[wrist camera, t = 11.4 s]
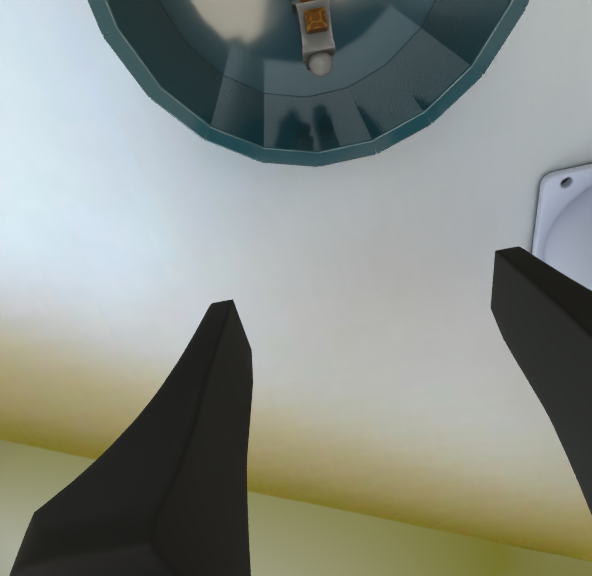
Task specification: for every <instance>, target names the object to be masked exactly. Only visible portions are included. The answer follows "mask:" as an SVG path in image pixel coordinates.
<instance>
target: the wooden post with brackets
mask: <svg viewBox="0 0 592 576" xmlns="http://www.w3.org/2000/svg"><path fill="white" fill-rule="evenodd" d="M329 3H330V0H294V1H292V9H293V14H297V17H298V20H299V24H300V30H301V38H302V45H303V50H302V53H303V61H305V65H306V67H307V70H311V72H312V73H313V74H314V75H316V76H319V77H323V76H326V75H327V74H328V73H329V72H330V71H331V69H332V67H333V59H332V56H334V54H335V43H334V40H333V34H332V26H331V18H330V10H329Z"/></svg>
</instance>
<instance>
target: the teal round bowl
mask: <svg viewBox="0 0 592 576" xmlns="http://www.w3.org/2000/svg"><path fill="white" fill-rule="evenodd" d="M292 1H294V0H88V2H89V5H90V7H91V10H92V12H93V14H94V17H95V19H96V22H97V24H98V26H99V29H100V31H101V33H102V35H104V36H103V37H104V39H105V40H106V41H107V43H108V44H109V45H110V47H111V48H112V49H113V51H114V52H115V53H116V54H117V56H118V57H119V58H120V60H121V61H122V62H123V64H124V65H125V66H126V68H127V69H128V70H129V72H130V73H131V74H132V76H133V77H134V78H135V80H136V81H137V82H138V84H139V85H140V86H141V88H142V89H143V90H144V92H145V93H146V94H147V95H148V97H151V100H153V101H154V102H155V103H157V104H158V105H159V106H160V107H162V108H163V109H164V110H166V111H167V112H168V113H170V114H171V115H172V116H173V117H175V118H176V119H177V120H179V121H180V122H181V123H182V124H184V125H185V126H186V127H188V128H189V129H190V130H191V131H193V132H194V133H195V134H197V135H198V136H199V137H201V138H202V139H204V140H206V141H208V142H211V143H213V144H216V145H218V146H221V147H223V148H226V149H228V150H231V151H233V152H236V153H239V154H241V155H244V156H246V157H249V158H251V159H254V160H256V161H261V162H263V163H276V164H288V165H301V166H313V167H318V166H325V165H329V164H334V163H338V162H343V161H348V160H352V159H357V158H361V157H366V156H370V155H375V154H376V153H380V152H381V151H383V150H385V149H387V148H389V147H391V146H392V145H394V144H396V143H398V142H400V141H402V140H403V139H405V138H407V137H409V136H411V135H413V134H414V133H416V132H418V131H420V130H422V129H424V128H426V127H427V126H429V125H431V123H433V122H434V121H435V120H437V119H438V118H439V117H440V116H441V115H442V114H443V113H444V112H445V111H446V110H447V109H448V108H449V107H450V106H451V105H452V104H453V103H454V102H456V101H457V100H458V99H459V98H460V97H461V96H462V95H463V94H464V93H465V92H466V91H467V90H468V89H469V88H470V87H471V86H472V85H473V84H475V83H476V82H477V81H478V80H479V79H480V78H481V77H482V74H484V73H485V72H486V70H487V68H488V67H489V65H490V64H491V62H492V61H493V59H494V58H495V56H496V54H497V53H498V51H499V50H500V48H501V47H502V45H503V44H504V42H505V40H506V39H507V37H508V36H509V34H510V33H511V31H512V29H513V28H514V26H515V25H516V23H517V22H518V20H519V19H520V17H521V15H522V14H523V12H524V11H525V7H526V6H527V5H528V2H529V0H330V3H329V10H330V18H331V26H332V34H333V40H334V43H335V54H334V56H332V59H333V67H332V69H331V71H330V72H329V73H328V74H327V75H326V76H323V77H319V76H316V75H314V74H313V73H312V72H311V70H307V67H306V65H305V61H303V53H302V50H303V45H302V38H301V30H300V24H299V20H298V17H297V14H293V9H292Z"/></svg>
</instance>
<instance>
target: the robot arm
mask: <svg viewBox="0 0 592 576" xmlns="http://www.w3.org/2000/svg"><path fill="white" fill-rule="evenodd" d="M567 177H568V179H567V181H566V182H565V183H563V184H561V182H562V180H563V179H565V178H567ZM491 310H492V312H493V315H494V317H495V320H496V322H497V325H498V327H499V329H500V332H501V334H502V336H503V339H504V341H505V342H506V344H507V346H508V348H509V349H510V351H511V353H512V354H513V356H514V358H515V360H516V361H517V363H518V365H519V366H520V368H521V370H522V371H523V373H524V375H525V376H526V378H527V380H528V381H529V383H530V385H531V386H532V388H533V390H534V392H535V393H536V395H537V397H538V398H539V400H540V402H541V403H542V405H543V407H544V409H545V410H546V412H547V414H548V416H549V418H550V420H551V422H552V424H553V426H554V428H555V430H556V433H557V435H558V437H559V439H560V441H561V443H562V446H563V448H564V450H565V452H566V454H567V457H568V459H569V461H570V464H571V466H572V468H573V471H574V473H575V475H576V478H577V480H578V482H579V485H580V487H581V489H582V492H583V494H584V497H585V499H586V502H587V504H588V507H589V509H590V512H591V514H592V164H588V165H583V166H578V167H573V168H568V169H564V170H559V171H554V172H551V173H548V174H547V175H546V176H545V177H544V178H543V179H542V181H541V185H540V193H539V201H538V209H537V217H536V225H535V233H534V241H533V249H532V254H531V253H529V252H527V251H526V250H524V249H522V248H521V247H513V248H508V249H502V250H497V251H495V261H494V274H493V286H492V299H491ZM252 388H253V371H252V352H251V348H250V345H249V342H248V339H247V337H246V334H245V331H244V329H243V326H242V323H241V320H240V318H239V315H238V312H237V310H236V307H235V304H234V301H233V300H227V301H222V302H217V303H212V304H211V305H210V307H209V308H208V310H207V312H206V314H205V316H204V317H203V319H202V321H201V323H200V325H199V327H198V328H197V330H196V332H195V334H194V336H193V337H192V339H191V341H190V343H189V344H188V346H187V348H186V349H185V351H184V353H183V354H182V356H181V358H180V359H179V361H178V362H177V364H176V366H175V367H174V368H173V370H172V371H171V373H170V374H169V376H168V377H167V379H166V380H165V382H164V383H163V385H162V386H161V388H160V389H159V390H158V392H157V393H156V394H155V396H154V397H153V398H152V400H151V401H150V402H149V404H148V405H147V406H146V407H145V409H144V410H143V411H142V412H141V414H140V415H139V416H138V417H137V418H136V419H135V421H134V422H133V423H132V424H131V425H130V426H129V427H128V428H127V429H126V430H125V431H124V432H123V433H122V435H121V436H120V437H119V438H118V439H117V440H116V441H115V442H114V443H113V444H112V445H111V446H110V447H109V448H108V449H107V450H106V451H105V452H104V453H103V454H102V455H101V456H100V457H99V458H98V459H97V460H96V461H95V462H94V463H93V464H92V465H90V466H89V467H88V468H87V469H86V470H85V471H84V472H83V473H82V474H81V475H79V476H78V477H77V478H76V479H75V480H74V481H73V482H72V483H70V484H69V485H68V486H67V487H65V488H64V489H63V490H62V491H60V492H59V493H58V494H57V495H56V496H54V497H53V498H52V499H51V500H49V501H48V502H47V503H46V504H44V505H43V506H42V507H41V508H39V509H38V510H37V511H36V512H34V515H33V517H32V519H31V521H30V524H29V526H28V528H27V531H26V533H25V536H24V539H23V541H22V544H21V546H20V549H19V552H18V555H17V557H16V559H15V562H14V565H13V567H12V570H11V573H10V576H251V570H250V552H249V532H248V505H247V451H248V438H249V426H250V414H251V402H252Z"/></svg>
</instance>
